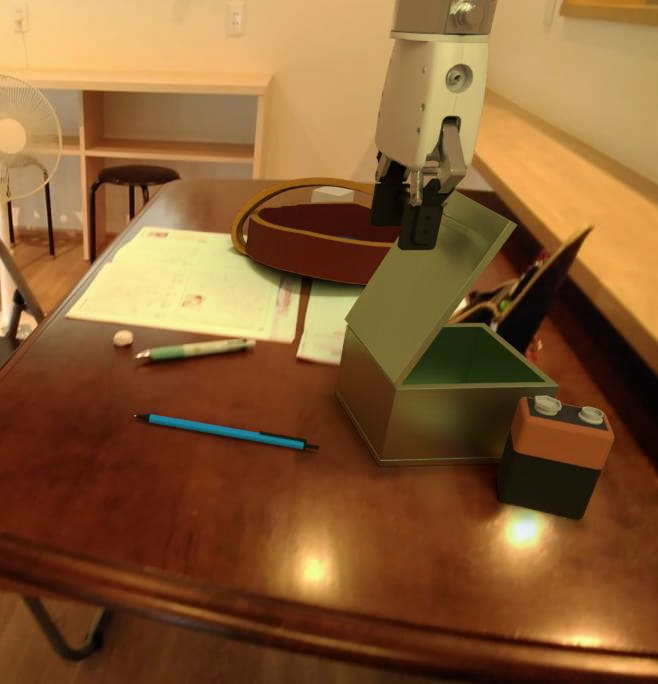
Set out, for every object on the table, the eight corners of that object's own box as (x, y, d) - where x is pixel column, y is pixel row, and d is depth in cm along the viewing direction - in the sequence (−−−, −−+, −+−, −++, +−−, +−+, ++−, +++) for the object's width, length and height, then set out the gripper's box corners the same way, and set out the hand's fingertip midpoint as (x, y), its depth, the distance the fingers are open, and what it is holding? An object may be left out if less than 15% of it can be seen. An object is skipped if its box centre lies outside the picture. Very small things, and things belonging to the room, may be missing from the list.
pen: (318, 454, 68) (319, 444, 67) (133, 421, 72) (133, 412, 72) (318, 448, 69) (320, 439, 68) (135, 416, 73) (135, 407, 72)
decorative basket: (450, 280, 117) (473, 191, 112) (402, 311, 94) (427, 201, 89) (270, 242, 135) (283, 163, 130) (193, 260, 112) (204, 166, 107)
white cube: (349, 220, 140) (354, 190, 137) (335, 226, 136) (339, 196, 133) (323, 213, 143) (327, 185, 141) (308, 219, 139) (312, 190, 137)
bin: (465, 391, 80) (484, 322, 76) (533, 462, 68) (559, 385, 64) (334, 393, 78) (346, 324, 74) (378, 467, 66) (396, 388, 62)
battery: (494, 475, 66) (522, 385, 61) (574, 493, 63) (610, 401, 59) (497, 503, 62) (527, 409, 57) (582, 523, 60) (621, 427, 55)
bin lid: (441, 183, 68) (396, 159, 67) (517, 224, 56) (464, 196, 54) (350, 321, 74) (306, 302, 73) (400, 386, 62) (349, 364, 61)
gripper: (550, 25, 47) (487, 270, 56) (438, 17, 63) (401, 210, 71) (445, 23, 47) (397, 271, 55) (358, 15, 62) (330, 210, 70)
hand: (400, 234), depth 63 cm, fingers closed on bin lid, 6 cm apart
